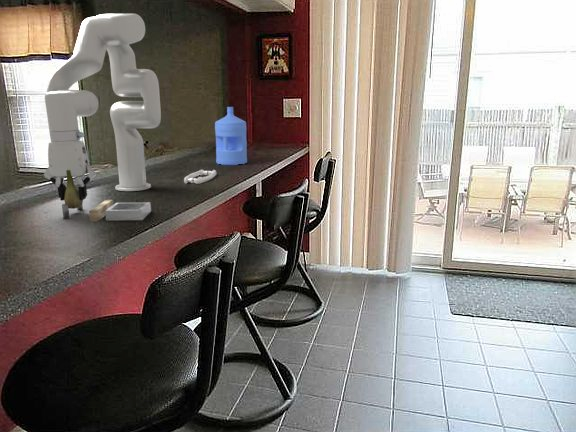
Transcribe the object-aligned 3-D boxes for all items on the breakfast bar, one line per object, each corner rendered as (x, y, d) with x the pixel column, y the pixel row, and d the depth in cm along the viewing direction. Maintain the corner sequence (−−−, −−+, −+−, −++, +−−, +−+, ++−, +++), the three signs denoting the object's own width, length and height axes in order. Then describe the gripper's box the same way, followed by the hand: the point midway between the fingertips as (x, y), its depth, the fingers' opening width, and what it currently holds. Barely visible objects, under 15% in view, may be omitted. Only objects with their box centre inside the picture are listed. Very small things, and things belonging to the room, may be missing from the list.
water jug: (224, 160, 246) (222, 106, 239) (251, 162, 242) (250, 106, 235) (210, 164, 232) (208, 107, 225) (239, 166, 227) (238, 107, 220)
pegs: (78, 209, 142) (77, 196, 141) (83, 209, 142) (82, 196, 141) (62, 218, 131) (60, 205, 130) (68, 218, 131) (66, 205, 130)
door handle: (178, 185, 183) (199, 174, 207) (202, 185, 181) (221, 175, 205) (178, 178, 182) (199, 168, 206) (202, 179, 181) (220, 168, 205)
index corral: (117, 211, 139) (116, 202, 138) (151, 211, 140) (150, 202, 139) (106, 220, 129) (105, 210, 129) (142, 220, 130) (141, 210, 129)
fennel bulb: (71, 204, 140) (66, 165, 137) (87, 205, 140) (82, 165, 136) (61, 210, 134) (55, 169, 131) (78, 210, 134) (72, 169, 131)
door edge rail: (106, 209, 142) (105, 199, 141) (113, 209, 142) (112, 199, 141) (90, 221, 128) (88, 211, 128) (97, 221, 128) (96, 211, 128)
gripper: (100, 135, 135) (107, 195, 140) (40, 135, 134) (49, 196, 140) (90, 138, 128) (98, 202, 133) (27, 138, 127) (37, 203, 132)
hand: (73, 198), depth 136 cm, fingers closed on fennel bulb, 4 cm apart
